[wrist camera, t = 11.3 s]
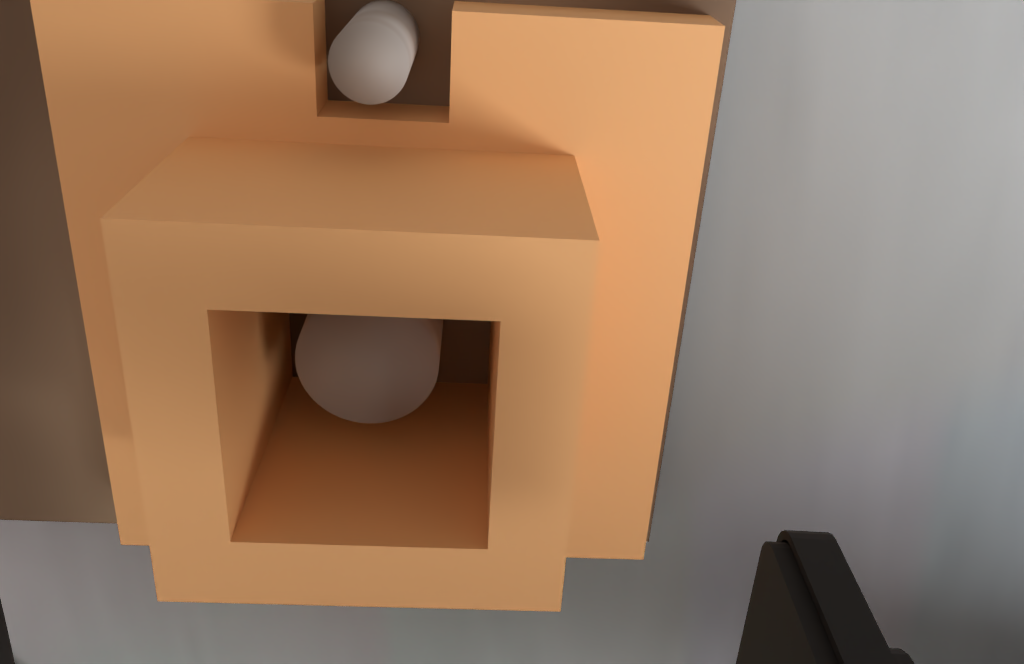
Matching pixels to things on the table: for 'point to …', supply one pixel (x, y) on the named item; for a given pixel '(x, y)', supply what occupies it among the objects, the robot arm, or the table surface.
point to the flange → (378, 289)
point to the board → (314, 337)
